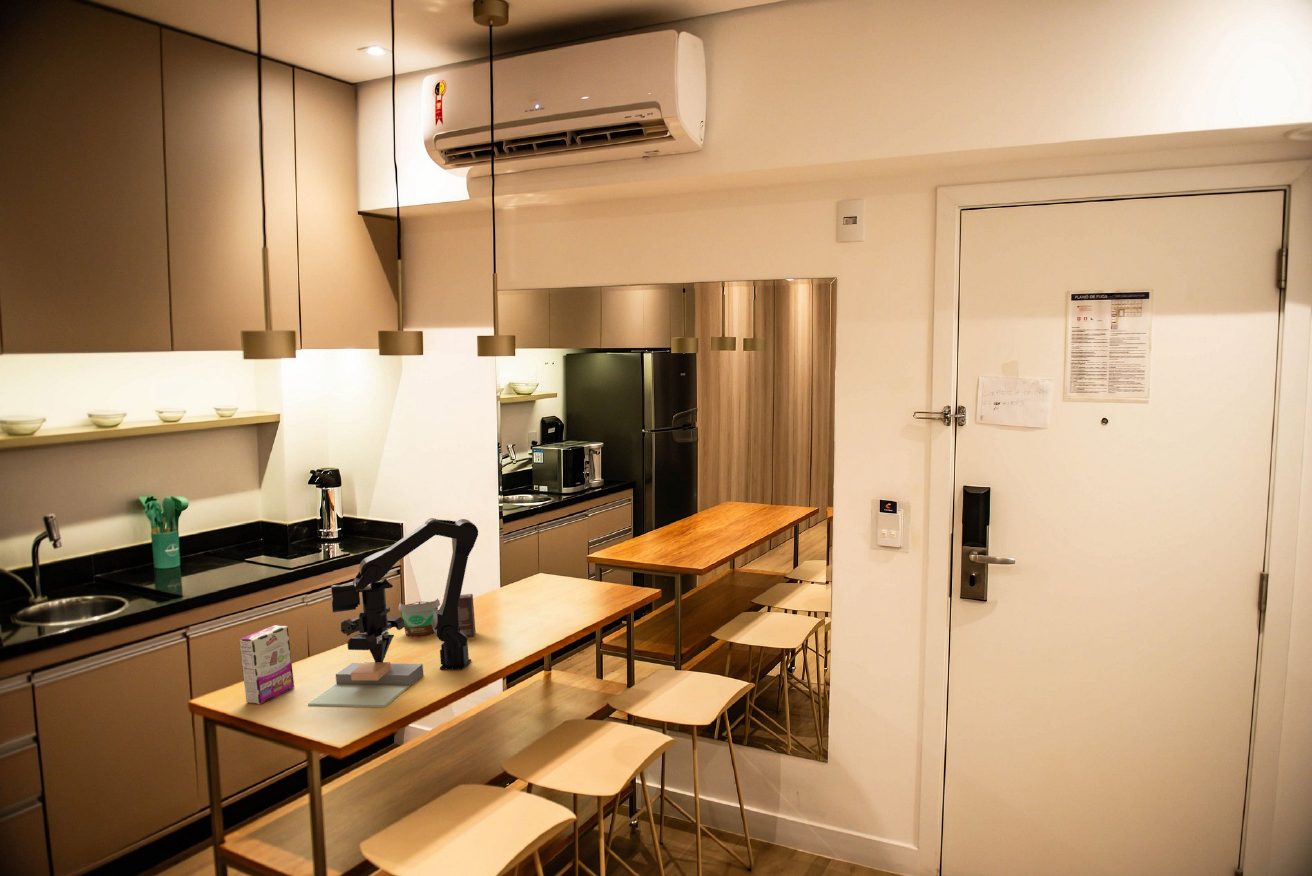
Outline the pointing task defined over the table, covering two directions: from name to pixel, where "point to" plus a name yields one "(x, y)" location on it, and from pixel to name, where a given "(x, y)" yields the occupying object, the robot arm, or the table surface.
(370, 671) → the coaster
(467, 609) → the box
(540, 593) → the table surface
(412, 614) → the food container
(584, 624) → the table surface
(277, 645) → the candy bar box
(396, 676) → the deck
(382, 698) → the mat
